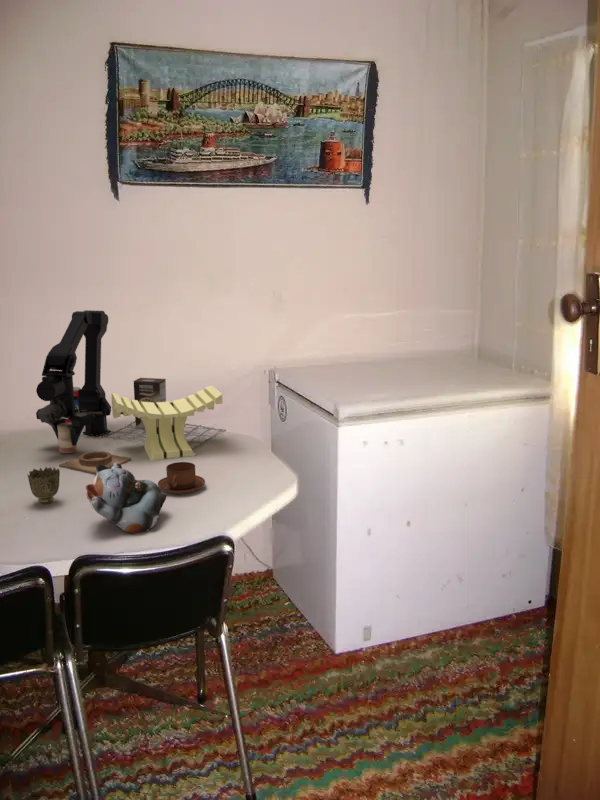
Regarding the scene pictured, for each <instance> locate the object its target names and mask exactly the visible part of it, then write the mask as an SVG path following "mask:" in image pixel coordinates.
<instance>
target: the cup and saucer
mask: <svg viewBox="0 0 600 800" xmlns="http://www.w3.org/2000/svg"><path fill="white" fill-rule="evenodd" d="M205 483H206V479H205V478H204V477H202V476H199V475H196V464H194V463H193V462H188V461H187V462H186V461H180V462H179V461H177V462H173V463H170V464H167V466H166V477H163V478H161V479H160V480H158V482H157V486H158V487H159V488H160V490H161V491H162V492H165V493H169V494H175V495H177V494H179V495H180V494H181V495H182V494H189V493H190V494H191V493H193V492H196V491H198V490H200V489H202V488H203V486H204V485H205Z"/></svg>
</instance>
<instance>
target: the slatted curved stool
mask: <svg viewBox="0 0 600 800" xmlns="http://www.w3.org/2000/svg"><path fill="white" fill-rule="evenodd" d="M223 403H224V402H223V393H222V392H221V391H219V390H218V389H217V388H216V387H215V386H214V385H208V386H206V387H204V390H203V389H200V390H198V391H195V393H194V394H193V393H192V394H190V395H187V396H186V398H185V397H183V398H179V399H178V398H177V399H174V400H171V402H170V401H166V402H156V404H154V403H153V402H142V401H141V405H140V404H139V402H138V400H134V398H133V399H129V397H126V396H122V395H121V396H120V395H119V394H118V393H115V392H112V393H111V414H112V417H113V419H118V418H121V415H123V417H130V416H131V415H132V416H133V417H134V418H135V417H138V418H140V417H141V419H142V421H143V423H144V426H145V429H144V430H145V433H146V435H145V436H146V437H145V441H144V450H145V452H146V454H147V456H148V458H149V460H150V461H157V460H158V461H159V460H164V459H167V460H168V459H176V458H177V459H179V458H181V457H183V458H186V457H187V458H188V457H196V454H195V452H194V451H193V449H192V448H191V446H190V444H189V442H188V440H187V439H186V437H185V434H184V433H185V432H184V429H185V425H186V422H187V420H188V417H192V416H193V417H194V416H195V412H197V413H200V412H201V413H202V412H205V410H206V409H208V410H212V411H213V410H215V405H221V404H223ZM156 419H157V427H156Z"/></svg>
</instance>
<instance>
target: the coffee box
mask: <svg viewBox="0 0 600 800" xmlns="http://www.w3.org/2000/svg"><path fill="white" fill-rule="evenodd" d="M166 380H167V379H166V378H157V377H156V378H155V377H152V378H151V377H139V378H136V379H135V380H133V395H134V396H133V397H134V398H133V400H138V402H139V404H140V405H141V401H142V402H153V403H154V404H156V402H167V389H166V387H167V384H166ZM134 419H135V429H139V430H140V429H141V430H146V429H145V426H144V423H143V421H142V419H141V417H140V418H138V417H134ZM156 427H157V419H156Z"/></svg>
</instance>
